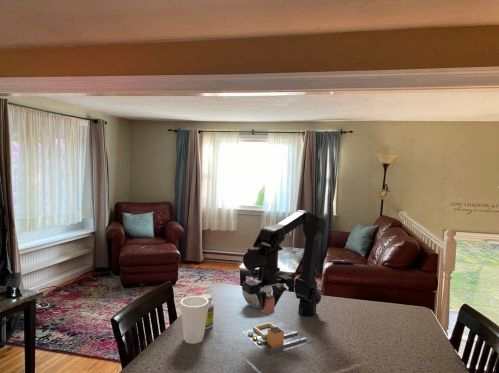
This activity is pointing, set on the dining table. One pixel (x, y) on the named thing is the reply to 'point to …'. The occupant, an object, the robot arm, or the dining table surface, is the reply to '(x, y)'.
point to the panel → (290, 339)
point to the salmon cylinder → (269, 304)
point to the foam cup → (194, 318)
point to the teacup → (255, 297)
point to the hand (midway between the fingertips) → (268, 307)
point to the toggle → (275, 337)
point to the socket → (256, 328)
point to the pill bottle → (209, 311)
